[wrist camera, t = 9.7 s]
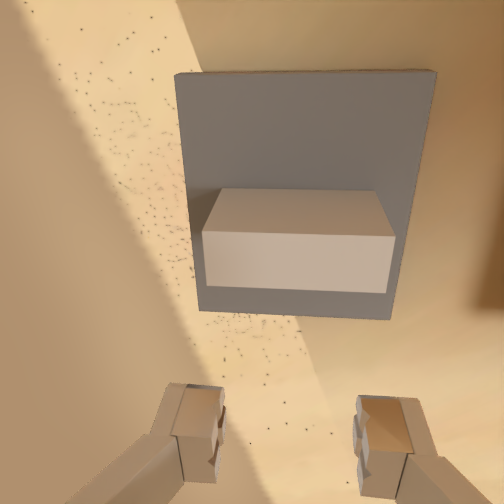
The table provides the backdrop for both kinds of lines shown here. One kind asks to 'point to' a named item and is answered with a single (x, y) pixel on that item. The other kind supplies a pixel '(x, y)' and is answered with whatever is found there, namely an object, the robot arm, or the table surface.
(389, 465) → the robot arm
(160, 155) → the table surface
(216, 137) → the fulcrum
